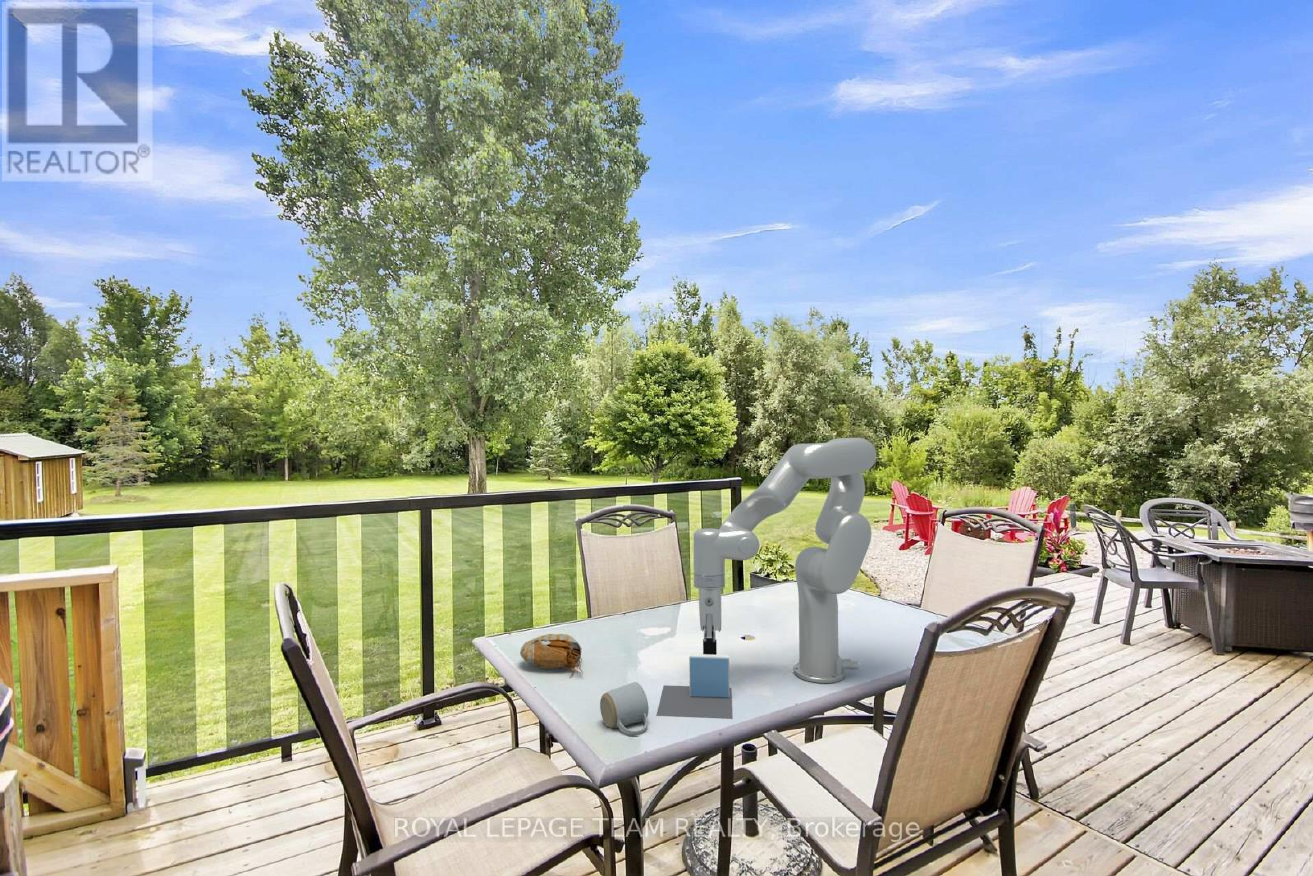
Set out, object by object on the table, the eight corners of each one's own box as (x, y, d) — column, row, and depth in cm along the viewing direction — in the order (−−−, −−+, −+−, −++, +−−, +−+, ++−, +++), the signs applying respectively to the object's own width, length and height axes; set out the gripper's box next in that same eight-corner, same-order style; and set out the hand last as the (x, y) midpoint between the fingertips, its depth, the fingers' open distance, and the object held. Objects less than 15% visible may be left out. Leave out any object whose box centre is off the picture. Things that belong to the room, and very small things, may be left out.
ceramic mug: (597, 721, 124) (597, 685, 124) (631, 712, 129) (631, 676, 129) (622, 744, 115) (622, 704, 115) (657, 732, 120) (657, 694, 120)
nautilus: (603, 676, 150) (548, 694, 141) (564, 648, 167) (513, 662, 159) (602, 646, 150) (547, 662, 141) (563, 621, 167) (512, 633, 158)
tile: (729, 694, 136) (729, 655, 136) (729, 698, 134) (729, 658, 134) (690, 693, 137) (689, 654, 137) (689, 696, 135) (689, 657, 135)
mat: (731, 690, 140) (731, 687, 140) (732, 721, 124) (732, 718, 124) (663, 687, 141) (663, 685, 141) (656, 718, 125) (656, 715, 125)
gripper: (725, 588, 136) (725, 669, 135) (724, 574, 150) (725, 647, 150) (692, 587, 136) (692, 667, 136) (695, 573, 151) (695, 646, 151)
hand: (709, 656), depth 143 cm, fingers closed
